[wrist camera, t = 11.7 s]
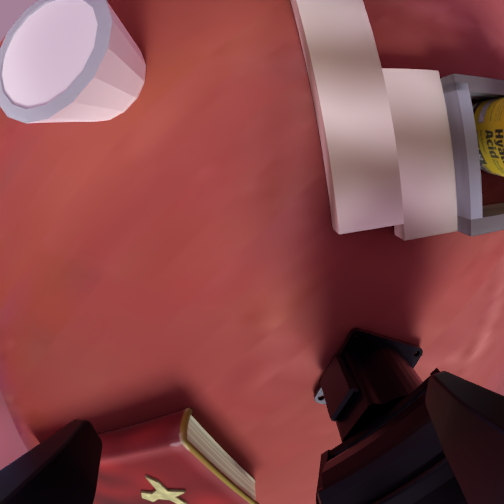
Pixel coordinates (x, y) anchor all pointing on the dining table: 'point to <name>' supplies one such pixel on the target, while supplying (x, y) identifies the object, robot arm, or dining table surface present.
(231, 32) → the dining table surface
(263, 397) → the dining table surface
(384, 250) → the dining table surface
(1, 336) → the dining table surface
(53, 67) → the shot glass
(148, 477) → the hardcover book
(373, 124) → the tray with upright post
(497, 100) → the supplement bottle
